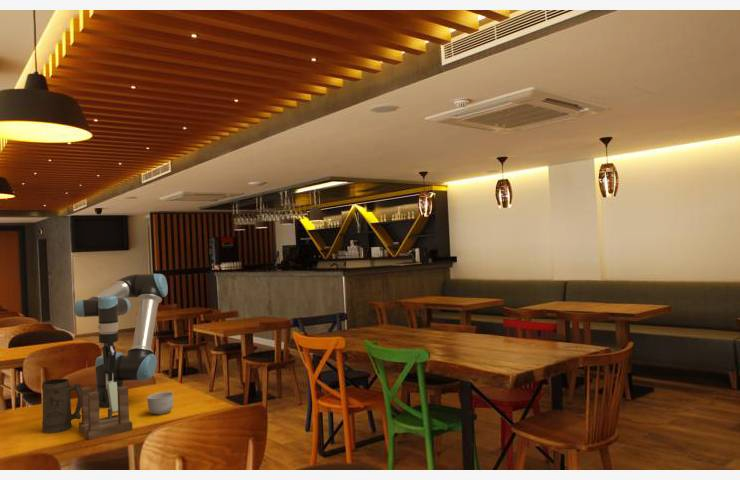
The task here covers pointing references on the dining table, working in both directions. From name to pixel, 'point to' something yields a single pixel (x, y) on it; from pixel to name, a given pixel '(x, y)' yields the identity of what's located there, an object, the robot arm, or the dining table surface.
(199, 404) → the dining table surface
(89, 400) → the wooden stand
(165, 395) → the teacup
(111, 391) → the hinged leg
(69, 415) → the beer stein
